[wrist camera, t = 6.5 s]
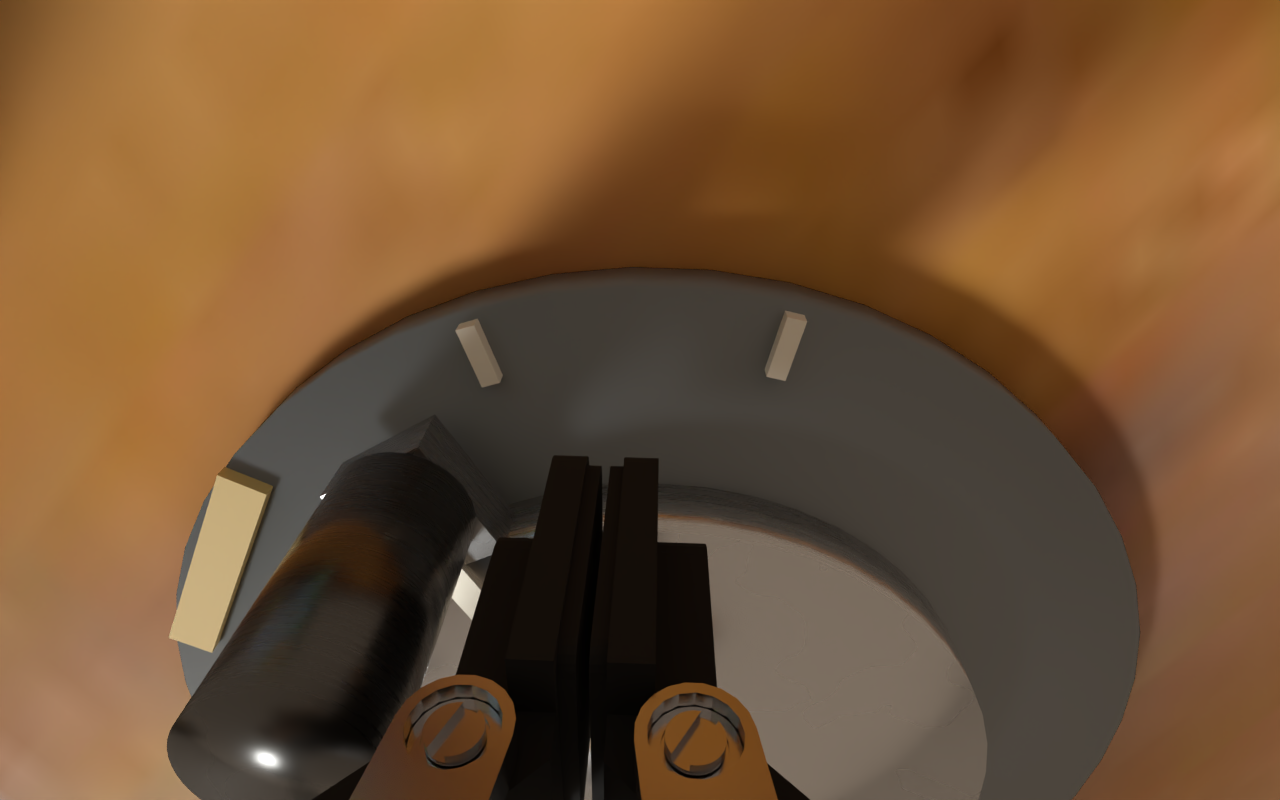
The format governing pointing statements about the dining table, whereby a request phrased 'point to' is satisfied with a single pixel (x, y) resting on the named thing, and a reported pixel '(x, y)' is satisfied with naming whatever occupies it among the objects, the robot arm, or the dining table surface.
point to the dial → (745, 668)
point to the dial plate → (733, 469)
